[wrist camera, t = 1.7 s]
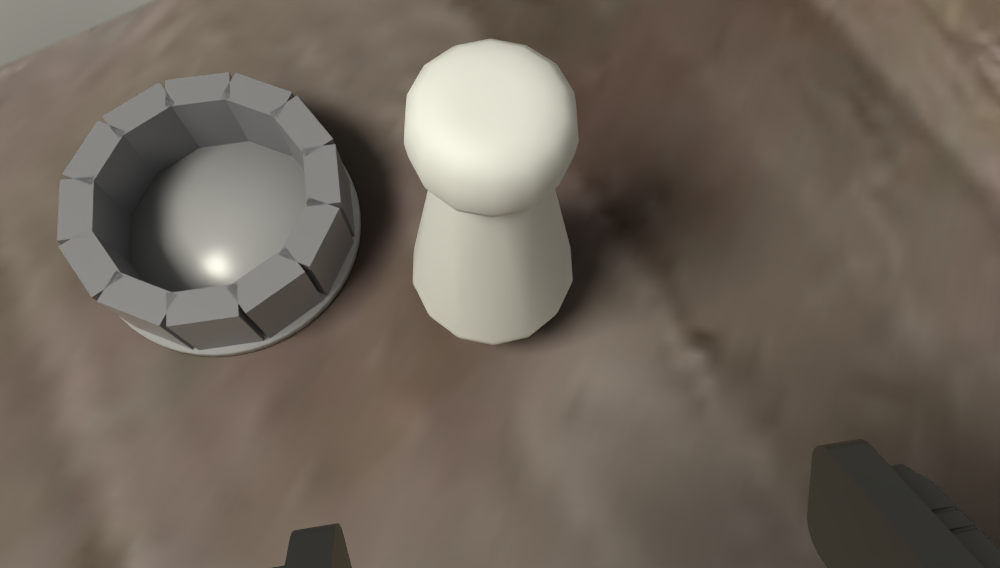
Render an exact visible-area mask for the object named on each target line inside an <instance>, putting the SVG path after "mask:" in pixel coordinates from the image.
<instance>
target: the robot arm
mask: <svg viewBox="0 0 1000 568" xmlns="http://www.w3.org/2000/svg"><path fill="white" fill-rule="evenodd" d="M807 520H808V528H809V532H810V536H811V539H812V542H813V544H814V546H815V549H816V550H817V552H818V554H819V556H820V557H821V559H822V560H823V562H824V563H825V564H826V566H827V567H828V568H1000V550H999V549H998V548H997V547H996V546H995V545H994V544H993V543H992V542H991V541H990V540H989V539H988V538H987V537H986V536H985V535H984V534H983V533H982V532H981V531H980V530H976V529H975V525H974V524H973V523H972V522H971V520H970V519H969V518H968V517H967V516H966V515H965V514H964V513H963V512H962V511H961V510H959V511H958V510H957V509H956V505H955V504H954V503H953V502H952V501H951V500H950V499H949V498H948V497H947V496H946V495H945V494H944V493H943V492H942V491H941V490H940V489H939V488H938V487H937V486H936V485H935V484H934V483H933V482H932V481H930V480H928V479H926V478H925V477H923V476H921V475H919V474H918V473H916V472H914V471H912V470H911V469H909V468H907V467H905V466H904V465H902V464H900V465H894V466H890V465H889V464H888V463H887V462H886V461H885V460H884V459H883V458H882V457H881V456H880V455H879V454H878V453H877V451H876V450H875V449H874V448H873V447H872V446H871V445H870V444H869V443H868V442H866V441H865V440H862V439H857V440H851V441H845V442H839V443H833V444H827V445H821V446H817V447H816V448H815V449H814V451H813V455H812V465H811V477H810V489H809V501H808V513H807ZM274 568H352V567H351V563H350V559H349V555H348V551H347V547H346V543H345V539H344V535H343V532H342V529H341V526H340V525H339V524H338V523H337V524H331V525H325V526H318V527H312V528H306V529H300V530H294V531H293V532H292V533H291V536H290V541H289V546H288V551H287V556H286V562H285V566H280V567H274Z"/></svg>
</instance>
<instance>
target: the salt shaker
mask: <svg viewBox="0 0 1000 568" xmlns="http://www.w3.org/2000/svg"><path fill="white" fill-rule="evenodd" d="M578 142H579V139H578V125H577V111H576V102H575V93H574V92H573V90H572V88H571V87H570V85H569V83H568V82H567V80H566V78H565V77H564V75H563V74H562V72H561V70H560V69H559V67H558V65H557V64H555V63H554V62H552V61H551V60H549V59H547V58H546V57H544V56H543V55H541V54H539V53H538V52H536V51H535V50H533V49H531V48H530V47H528V46H527V45H522V44H516V43H511V42H506V41H501V40H495V39H486V40H481V41H476V42H471V43H466V44H461V45H456V46H453V47H452V48H450V49H449V50H447V51H446V52H444V53H442V54H441V55H439V56H438V57H436V58H435V59H433V60H432V61H430V62H429V63H427V64H425V65H424V66H423V68H422V70H421V72H420V73H419V75H418V77H417V78H416V80H415V82H414V84H413V85H412V87H411V89H410V91H409V92H408V94H407V100H406V110H405V131H404V145H405V148H406V151H407V155H408V157H409V159H410V161H411V163H412V165H413V167H414V169H415V170H416V172H417V174H418V176H419V178H420V180H421V182H422V183H423V185H424V187H425V188H426V189H427V190H428V192H427V196H426V201H425V205H424V209H423V213H422V218H421V222H420V226H419V230H418V235H417V239H416V243H415V247H414V265H413V284H414V286H415V288H416V290H417V292H418V294H419V296H420V298H421V300H422V302H423V304H424V306H425V308H426V310H427V312H428V314H429V315H430V316H431V318H433V319H434V320H435V321H437V322H438V323H439V324H441V325H442V326H443V327H445V328H446V329H447V330H449V331H450V332H451V333H453V334H454V335H455V336H456V337H458V338H460V339H465V340H470V341H475V342H480V343H485V344H489V345H497V344H501V343H506V342H510V341H514V340H519V339H523V338H527V337H529V336H530V335H532V334H533V333H534V332H535V331H537V330H538V329H539V328H540V327H542V326H543V325H544V324H545V323H547V322H548V321H549V320H550V319H551V318H553V317H554V316H555V315H556V314H557V313H558V311H559V309H560V307H561V304H562V302H563V300H564V298H565V296H566V294H567V292H568V290H569V288H570V286H571V283H572V281H573V276H572V262H571V248H570V244H569V240H568V236H567V232H566V229H565V225H564V221H563V217H562V213H561V209H560V206H559V202H558V198H557V194H556V190H555V188H557V187H558V186H559V185H560V183H561V181H562V179H563V177H564V175H565V173H566V171H567V169H568V167H569V165H570V163H571V161H572V159H573V157H574V155H575V152H576V149H577V145H578Z"/></svg>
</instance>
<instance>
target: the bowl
mask: <svg viewBox="0 0 1000 568" xmlns="http://www.w3.org/2000/svg"><path fill="white" fill-rule="evenodd" d="M102 117H103V118H104V119H105V121H106V122H107V123H108V124H105V123H102V122H99V121H97V122H96V124H95V125H94V127H93V128H92V130H91V131H90V133H89V134H88V136H87V137H86V139H85V140H84V142H83V143H82V145H81V146H80V148H79V149H78V151H77V152H76V154H75V155H74V157H73V158H72V160H71V161H70V163H69V164H68V166H67V167H66V169H65V170H64V172H63V173H62V175H63V176H64V177H66V178H67V179H66V180H60V188H59V208H58V228H57V241H58V242H59V243H61V244H62V245H60V246H59V248H60V250H61V251H62V253H63V254H64V256H65V257H66V259H67V260H68V262H69V263H70V265H71V266H72V268H73V270H74V271H75V273H76V274H77V276H78V277H79V279H80V280H81V282H82V283H83V285H84V286H85V288H86V289H87V291H88V292H89V294H90V295H91V297H92V298H94V299H95V300H97V302H99V303H100V304H102V305H103V306H105V307H106V308H108V309H109V310H111V311H112V312H114V313H115V314H117V315H118V316H120V317H121V318H122V319H123V320H124V321H125V322H126V323H127V324H128V325H129V326H130V327H131V328H133V329H134V330H136V331H137V332H139V333H140V334H142V335H143V336H144V337H146V338H147V339H149V340H151V341H152V342H154V343H157V344H159V345H161V346H163V347H165V348H167V349H170V350H174V351H177V352H180V353H183V354H189V355H195V356H203V357H225V356H237V355H241V354H246V353H251V352H255V351H258V350H261V349H264V348H267V347H270V346H272V345H275V344H277V343H279V342H281V341H283V340H285V339H287V338H289V337H291V336H292V335H294V334H295V333H297V332H298V331H300V330H302V329H303V328H305V327H306V326H307V325H308V324H310V323H311V322H312V321H313V320H314V319H316V318H317V317H318V316H319V315H320V314H321V313H322V312H323V311H324V310H325V309H326V308H327V307H328V306H329V305H330V304H331V302H332V301H333V300H334V298H335V297H336V296H337V294H338V293H339V292H340V290H341V289H342V287H343V285H344V284H345V282H346V280H347V278H348V277H349V275H350V272H351V270H352V267H353V265H354V262H355V260H356V256H357V252H358V248H359V244H360V236H361V212H360V206H359V201H358V197H357V194H356V191H355V188H354V185H353V182H352V180H351V178H350V176H349V174H348V172H347V170H346V168H345V166H344V165H343V163H342V160H341V158H340V155H339V152H338V150H337V147H336V144H335V142H334V140H333V138H332V137H331V136H330V134H329V133H328V132H327V131H326V130H325V128H324V127H323V126H322V125H321V124H320V123H319V121H318V120H317V119H316V118H315V117H314V115H313V114H312V113H311V112H310V111H309V109H308V108H307V107H306V106H305V105H304V103H303V102H302V101H301V100H300V99H299V97H298V96H295V97H294V96H293V93H292V92H290V91H287V90H284V89H281V88H278V87H275V86H272V85H269V84H267V83H264V82H261V81H258V80H255V79H252V78H249V77H246V76H243V75H240V74H237V73H235V74H234V76H233V78H232V77H231V75H230V73H229V72H227V73H219V74H211V75H203V76H195V77H187V78H179V79H171V80H165V89H164V88H163V87H162V86H161V84H160V83H157V84H155V85H154V86H152V87H150V88H149V89H147V90H145V91H144V92H142V93H140V94H139V95H137V96H135V97H134V98H132V99H130V100H129V101H127V102H125V103H124V104H122V105H120V106H119V107H117V108H115V109H114V110H112V111H110V112H109V113H107V114H105V115H104V116H102Z"/></svg>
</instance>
